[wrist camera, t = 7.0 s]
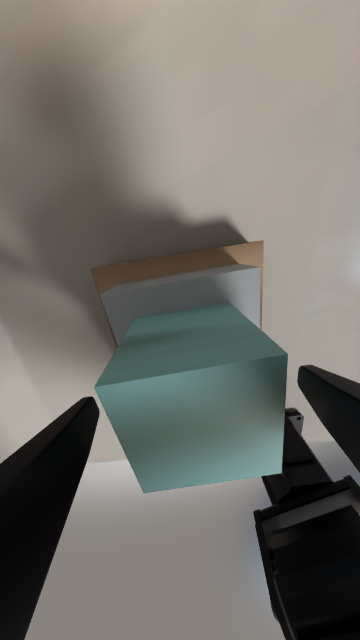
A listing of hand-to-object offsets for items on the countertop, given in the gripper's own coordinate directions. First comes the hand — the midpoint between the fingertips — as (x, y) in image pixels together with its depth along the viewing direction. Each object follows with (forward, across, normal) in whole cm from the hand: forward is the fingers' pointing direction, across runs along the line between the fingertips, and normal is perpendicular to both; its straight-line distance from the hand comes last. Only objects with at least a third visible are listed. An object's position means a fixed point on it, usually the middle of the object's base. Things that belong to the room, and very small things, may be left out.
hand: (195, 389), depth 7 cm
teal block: (+3, 0, 0) cm, 3 cm away
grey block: (+6, 0, 0) cm, 6 cm away
